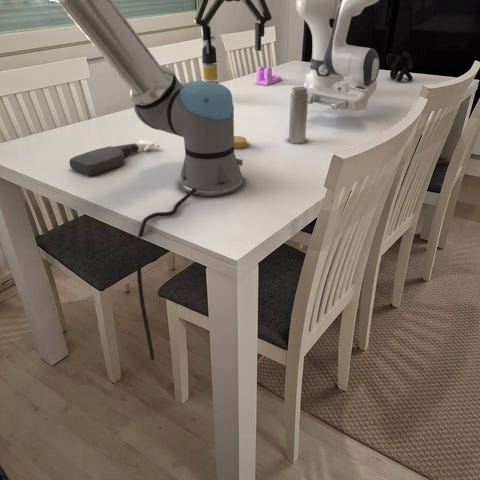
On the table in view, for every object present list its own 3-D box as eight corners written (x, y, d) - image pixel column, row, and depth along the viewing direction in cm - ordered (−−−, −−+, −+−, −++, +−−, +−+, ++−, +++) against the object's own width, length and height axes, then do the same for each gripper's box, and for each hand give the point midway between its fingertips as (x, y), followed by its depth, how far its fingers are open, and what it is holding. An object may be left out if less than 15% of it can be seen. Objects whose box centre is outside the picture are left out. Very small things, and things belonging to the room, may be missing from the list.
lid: (229, 149, 130) (229, 143, 129) (225, 143, 135) (225, 137, 134) (248, 147, 131) (248, 141, 130) (243, 141, 136) (243, 135, 135)
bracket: (267, 85, 196) (267, 68, 192) (256, 83, 199) (256, 67, 195) (282, 79, 205) (283, 63, 201) (272, 78, 208) (273, 62, 204)
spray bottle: (67, 168, 120) (139, 144, 136) (91, 178, 114) (163, 151, 130) (65, 157, 118) (137, 134, 134) (89, 167, 112) (162, 142, 128)
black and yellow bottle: (220, 99, 177) (217, 15, 161) (206, 100, 176) (202, 16, 160) (215, 96, 182) (212, 14, 166) (202, 97, 180) (197, 14, 164)
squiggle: (400, 92, 202) (376, 71, 205) (417, 76, 202) (392, 56, 205) (405, 81, 191) (380, 59, 194) (423, 64, 191) (397, 42, 194)
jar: (305, 138, 137) (308, 86, 129) (305, 143, 133) (308, 90, 125) (289, 137, 138) (291, 86, 130) (288, 143, 134) (290, 90, 126)
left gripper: (183, -42, 102) (190, 57, 113) (285, -44, 108) (282, 50, 119) (178, -42, 108) (185, 52, 119) (274, -43, 114) (272, 46, 125)
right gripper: (318, 80, 151) (294, 88, 143) (373, 89, 140) (350, 99, 131) (316, 98, 155) (293, 107, 146) (370, 110, 143) (347, 120, 135)
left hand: (233, 51), depth 119 cm, fingers open, 13 cm apart
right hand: (320, 103), depth 139 cm, fingers open, 8 cm apart
